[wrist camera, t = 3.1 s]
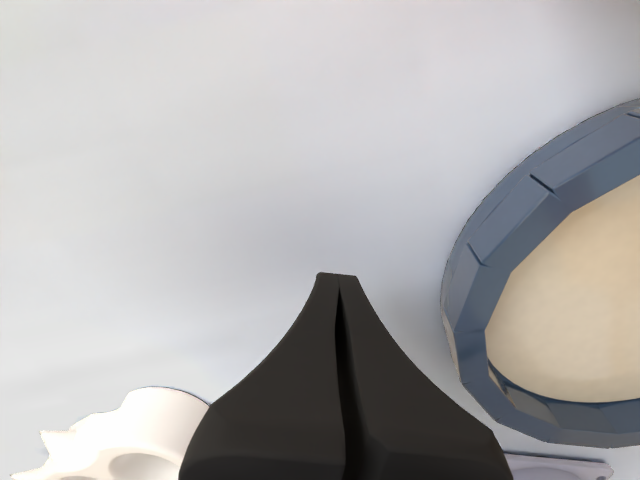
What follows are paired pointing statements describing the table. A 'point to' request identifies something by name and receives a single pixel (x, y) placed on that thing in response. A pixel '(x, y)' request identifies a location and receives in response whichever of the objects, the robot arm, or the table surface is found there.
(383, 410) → the robot arm
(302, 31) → the table surface
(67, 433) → the white tube cluster
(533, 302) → the plate
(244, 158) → the table surface
